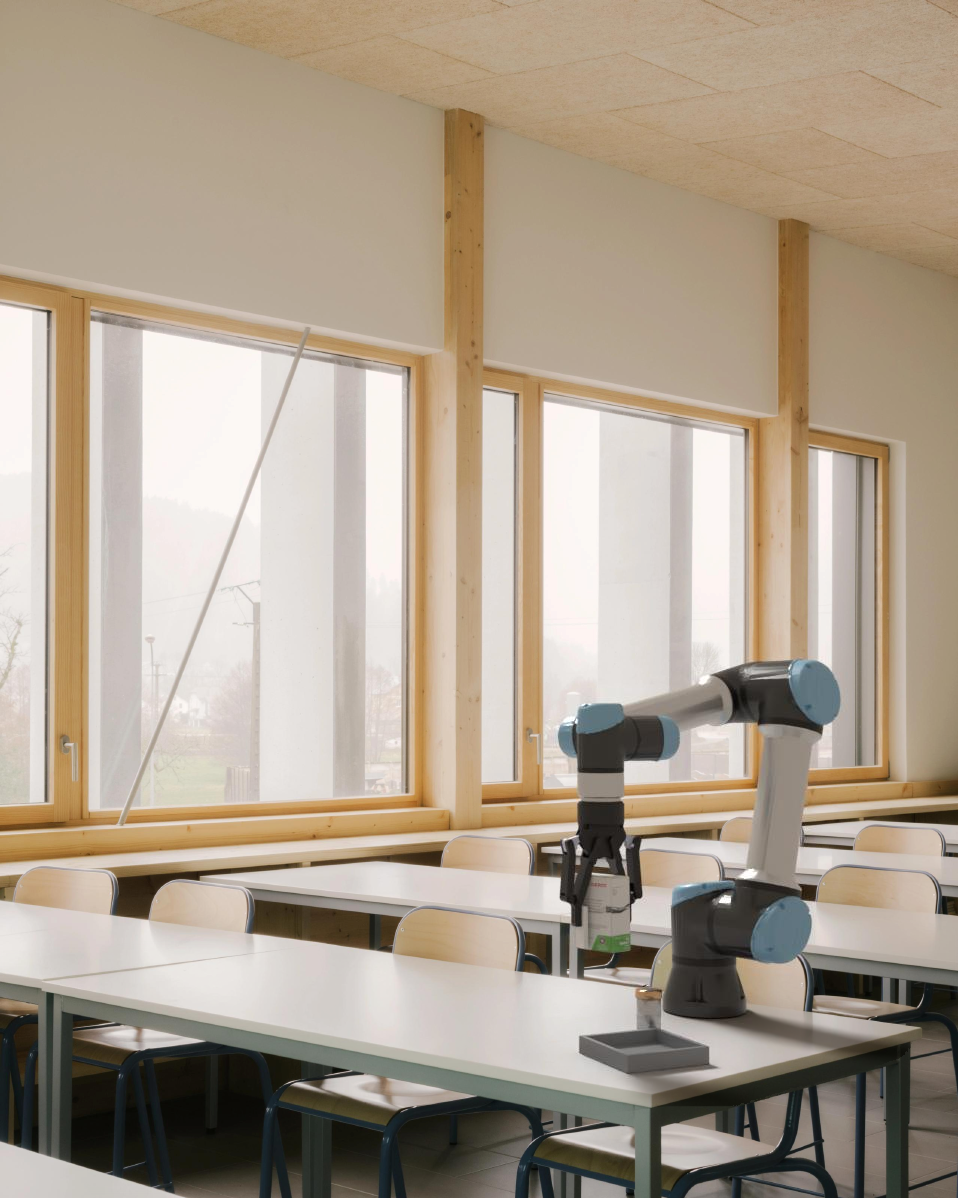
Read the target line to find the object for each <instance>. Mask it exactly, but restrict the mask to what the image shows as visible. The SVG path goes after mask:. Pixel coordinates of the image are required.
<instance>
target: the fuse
mask: <svg viewBox="0 0 958 1198" xmlns="http://www.w3.org/2000/svg"><path fill="white" fill-rule="evenodd" d="M634 990H635V993H634V994H635V995H634V997H635V998H636V1030H640V1029H650V1028H660V1029H662V999H663V989H662V988H658V987H651V986H650V987H649V986H646V987H644V986H643V987H637V988H635V989H634Z"/></svg>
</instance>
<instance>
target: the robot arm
mask: <svg viewBox="0 0 958 1198" xmlns="http://www.w3.org/2000/svg"><path fill="white" fill-rule="evenodd" d="M841 705H842V700H841V690H840V685H839V684H838V681H837V678H836V677H835V675H834V673H833V671H832V670H831V669H830V668H829V667H828V666H827V665H826V664H824V663H823V662H821V661H818V660H815V659H812V660H811V659H802V658H796V659H789V660H768V661H767V660H765V661H763V660H762V661H758V660H757V661H751V662H746V663H745V662H744V663H741V664H739V665H735V666H732V667H729V668H726V669H724V670H720V671H717V672H714V673H710V674H708V675H705V676H702V677H700V678H699V679H698V680H697V681H696V682H695V684H693V685H690V686H686V687H683V688H679V689H676V690H672V691H669V692H668V691H667V692H666V693H661V694H658V695H655V696H651V697H648V698H644V699H641V700H637V701H633V702H630V703H628V704H627V703H626V704H625V705H622V703H619V702H615V703H614V702H611V703H610V702H609V703H608V702H590V703H589V702H587V703H585V702H584V703H582V704H581V705H579V706H578V709H577V715H570V716H568V717H566V718H565V719H564V720H563V721H562V722H561V723H560V725H559V727H558V731H557V742H558V745H559V747H560V750H561V751H562V753H563V754H564V755H565V756H567V757H569V758H572V759H576V763H577V766H576V767H577V768H576V770H577V773H576V774H577V775H576V777H577V780H576V781H577V782H576V783H577V784H576V785H577V786H576V787H577V788H576V789H577V792H576V793H577V797H578V798H580V800H578V802H577V803H576V804H577V806H576V807H577V809H576V810H577V815H576V817H577V818H576V819H577V827H578V828H577V831H576V832H575V835H573V836H571V837H568V838H566V837H563V838H560V841H559V844H560V849H561V851H562V857H561V870H560V871H561V873H560V886H559V900H560V901H561V902H564V903H567V904H569V905H570V923H571V926H572V927H573V926H575V927H576V947H579V948H578V949H581V948H582V950H588V907H587V906H583V903H584V899H585V896H586V892H587V889H588V885H589V882H590V878H591V874H592V873H593V870H594V867H595V865H596V864H597V863H598V860H601V859H603V858H604V859H605V860H606V863H608V864H607V865H608V867H609V869H610V873H611V874H610V875H621V876H629V893H630V924H631V923H632V920H633V918H632V905H633V904H635V903H636V900H639V899H642V898H643V896H644V894H643V881H642V869H641V861H640V860H641V859H640V857H641V856H640V850H641V846H642V841H643V840H642V838H641V837H640V836H636V835H629V834H627V832H626V830H625V828H624V827H625V826H624V825H625V803H624V801H623V800H621V799H622V798H624V797H625V762H648V761H649V762H656V763H657V762H659V761H666V760H669V759H671V758H672V757H673V756H675V754H676V753H677V752H678V750H679V748H680V743H681V740H680V739H681V733H683V732H686V731H690V730H692V729H695V728H696V729H697V728H698V727H701V726H705V725H709V726H712V727H721V726H723V725H727V724H757V726H756V730H757V731H758V732H759V733H760V735H761V736H762V737H763V743H762V751H761V758H760V765H759V771H758V779H757V786H756V792H755V793H756V794H755V800H754V806H753V807H754V808H753V815H752V822H751V829H750V836H749V843H748V851H747V857H746V865H745V869H744V871H743V872H741V873H740V874H739V875H737V876H736V877H735V880H715V881H701V882H690V883H679V884H677V885H676V886H675V887H674V888H673V889H672V894H671V904H670V919H671V920H670V922H671V928H670V929H671V968H670V972H669V975H668V979H667V982H666V984H665V987H664V992H663V993H662V1010H663V1011H665V1012H666V1013H669V1014H674V1015H678V1016H683V1017H689V1018H690V1017H692V1018H701V1019H703V1018H704V1019H705V1018H707V1019H708V1018H709V1019H712V1018H713V1019H719V1018H720V1019H721V1018H732V1017H739V1016H742V1015H745V1014H747V1011H748V1010H747V1006H748V1005H747V1003H748V1002H747V997H746V994H745V991H744V988H743V985H742V981H741V979H740V974H739V971H738V968H737V958H739V959H744V960H750V961H753V962H758V963H760V964H761V963H762V964H765V965H766V964H776V965H777V964H778V965H782V964H788V963H790V962H792V961H794V960H795V959H796V958H797V957H798V956H799V955H801V954H802V952H803V951H804V950H805V948H806V947H807V945H808V943H809V939H810V937H811V933H812V925H813V920H812V918H813V917H812V915H811V914H810V908H809V906H808V904H807V902H805V901H804V900H803V899H802V891H803V890H802V889H803V888H802V887H801V886H800V885H799V884H798V882H797V881H796V878H795V876H796V871H797V870H796V869H797V861H798V856H799V855H798V854H799V846H800V839H801V832H802V823H803V818H804V817H803V816H804V810H805V802H806V793H807V787H808V786H807V785H808V781H809V772H810V764H811V758H812V757H811V756H812V750H813V749H812V748H813V746H814V745H815V744H816V743H817V742H818V743H819V741H821V740H822V738H823V733H824V732H823V731H824V726H827V725H829V724H831V723H833V722H834V721H835V719H836V718H837V717H838V715H839V712H840V710H841ZM578 845H579V846H580V848H581V849H582V851H581V854H580V858H579V861H580V863H579V865H578V870H577V877H576V880H575V873H576V865H577V864H576V863H577V861H576V860H577V850H578ZM622 846H624V848H625V863H626V871H625V868H624V865H623V857H622V856H623V855H622V853H621V850H620V849H621V847H622ZM574 880H575V884H574Z"/></svg>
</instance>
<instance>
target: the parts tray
mask: <svg viewBox="0 0 958 1198" xmlns="http://www.w3.org/2000/svg"><path fill="white" fill-rule="evenodd" d="M578 1053H579V1054H582V1055H584V1056H586V1057H588V1058H591V1059H593V1060H596V1061H597V1062H600V1063H603V1064H605V1065H608V1066H609V1067H612V1068H613V1069H616V1070H619V1071H621V1072H624V1073H626V1074H634V1073H643V1072H651V1071H660V1070H661V1071H662V1070H668V1069H677V1068H685V1067H686V1068H687V1067H694V1066H703V1065H710V1046H709V1045H706V1044H704V1043H700V1042H699V1041H695V1040H692V1039H690V1038H686V1037H683V1036H682V1035H678V1034H676V1033H673V1032H670V1031H667V1030H665V1029H662V1028H661V1029H660V1028H650V1029H640V1030H637V1029H632V1030H624V1031H612V1032H611V1031H609V1032H601V1033H592V1034H584V1035H579V1036H578Z"/></svg>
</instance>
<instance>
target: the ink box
mask: <svg viewBox="0 0 958 1198" xmlns="http://www.w3.org/2000/svg"><path fill="white" fill-rule="evenodd" d="M577 873H578V872H577ZM577 873H576V872H575V880H576V877H577ZM575 880H574V884H575ZM583 906H587V907H588V949H587V951H588V950H589V951H597V952H603V953H610V954H614V953H615V954H616V953H621V952H622V953H623V952H628V951H629V952H630V951H631V950H632V948H631V947H632V946H631V944H632V943H631V942H632V941H631V923H630V893H629V876H627V875H626V876H621V875H612V874H608V873H599V872H598V873H597V872H592V874H591V878H590V882H589V885H588V889H587V892H586V896H585V899H584V903H583ZM572 947H573V948H575V949H582V948H579V947H576V927H575V926H572ZM582 950H583V949H582Z"/></svg>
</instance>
